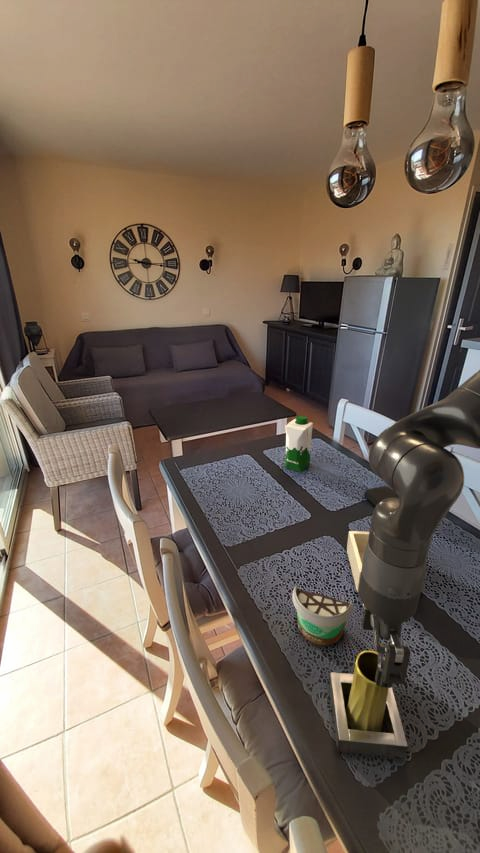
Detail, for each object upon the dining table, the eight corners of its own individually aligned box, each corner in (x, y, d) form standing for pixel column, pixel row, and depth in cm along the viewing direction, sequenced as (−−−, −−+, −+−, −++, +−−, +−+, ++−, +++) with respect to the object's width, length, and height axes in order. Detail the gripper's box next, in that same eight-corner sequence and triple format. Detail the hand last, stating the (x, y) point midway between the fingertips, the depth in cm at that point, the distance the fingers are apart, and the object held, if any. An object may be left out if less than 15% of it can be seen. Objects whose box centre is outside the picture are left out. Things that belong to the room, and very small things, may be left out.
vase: (351, 693, 65) (360, 640, 59) (386, 714, 62) (399, 661, 56) (339, 725, 61) (347, 671, 55) (376, 750, 57) (388, 696, 52)
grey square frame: (386, 690, 65) (389, 676, 64) (403, 760, 56) (408, 746, 55) (328, 685, 66) (330, 672, 65) (337, 754, 57) (339, 740, 56)
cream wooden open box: (400, 553, 96) (404, 532, 93) (419, 598, 83) (424, 575, 80) (346, 551, 97) (348, 530, 94) (356, 594, 85) (360, 572, 82)
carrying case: (358, 496, 120) (386, 523, 107) (359, 488, 119) (387, 515, 106) (386, 490, 122) (416, 516, 109) (387, 482, 121) (418, 508, 108)
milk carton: (312, 465, 139) (315, 417, 131) (302, 475, 133) (304, 426, 124) (292, 459, 144) (293, 412, 136) (281, 469, 137) (282, 421, 129)
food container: (284, 641, 74) (285, 607, 70) (292, 617, 80) (293, 583, 76) (346, 662, 70) (351, 627, 66) (349, 635, 75) (354, 601, 71)
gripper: (443, 624, 41) (418, 709, 47) (403, 538, 54) (388, 614, 60) (375, 619, 42) (359, 703, 48) (352, 535, 55) (342, 611, 61)
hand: (375, 653), depth 54 cm, fingers open, 8 cm apart
